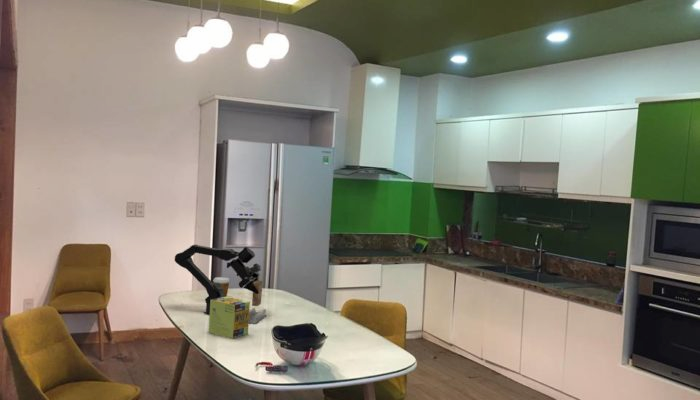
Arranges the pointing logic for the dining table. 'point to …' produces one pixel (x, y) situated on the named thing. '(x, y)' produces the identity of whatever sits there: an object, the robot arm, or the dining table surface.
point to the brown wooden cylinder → (223, 283)
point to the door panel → (257, 297)
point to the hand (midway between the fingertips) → (259, 292)
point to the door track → (256, 316)
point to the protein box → (229, 317)
